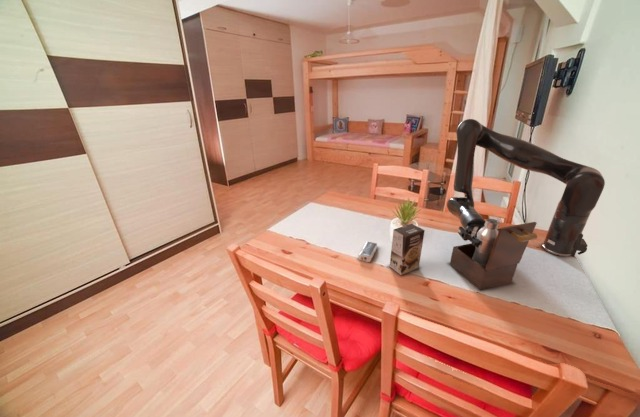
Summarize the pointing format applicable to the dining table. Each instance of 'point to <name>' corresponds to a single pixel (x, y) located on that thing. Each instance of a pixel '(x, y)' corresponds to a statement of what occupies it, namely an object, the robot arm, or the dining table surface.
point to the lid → (510, 245)
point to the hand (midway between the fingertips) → (489, 245)
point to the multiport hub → (368, 251)
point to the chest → (479, 269)
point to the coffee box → (406, 248)
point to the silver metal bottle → (486, 242)
